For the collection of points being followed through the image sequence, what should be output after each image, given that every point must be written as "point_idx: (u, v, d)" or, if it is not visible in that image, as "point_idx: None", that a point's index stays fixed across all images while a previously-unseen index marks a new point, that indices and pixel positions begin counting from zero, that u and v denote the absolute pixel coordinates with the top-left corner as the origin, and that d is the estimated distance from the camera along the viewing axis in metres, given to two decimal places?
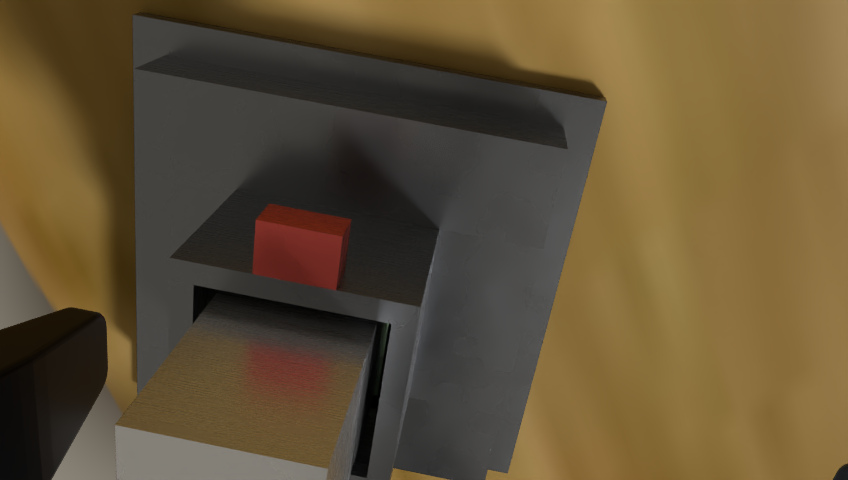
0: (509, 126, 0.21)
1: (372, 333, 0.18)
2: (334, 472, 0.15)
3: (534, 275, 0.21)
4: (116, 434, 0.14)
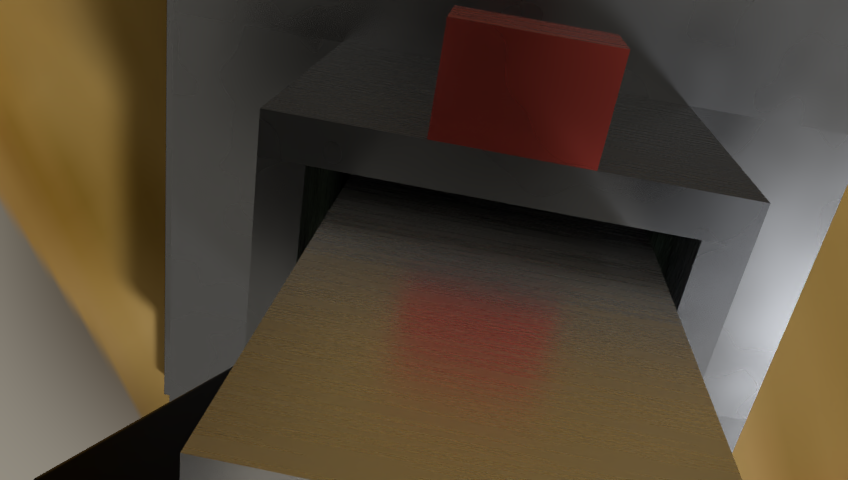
0: None
1: (655, 261, 0.09)
2: None
3: (843, 185, 0.13)
4: (182, 477, 0.05)
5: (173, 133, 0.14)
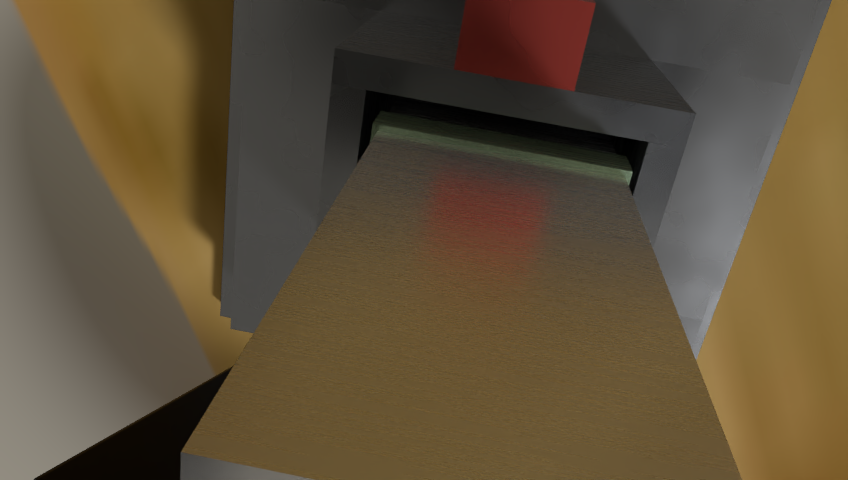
0: None
1: (655, 260, 0.09)
2: None
3: (772, 123, 0.16)
4: (183, 474, 0.05)
5: (243, 85, 0.17)
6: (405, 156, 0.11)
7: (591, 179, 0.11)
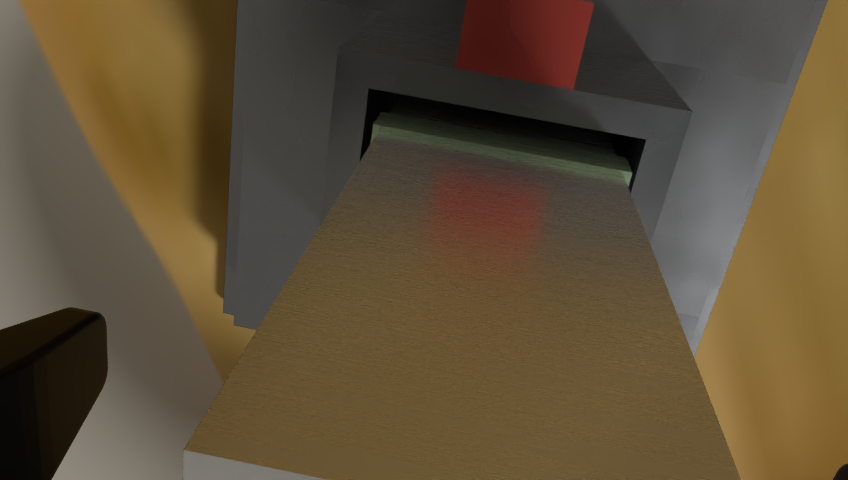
0: None
1: (654, 260, 0.09)
2: None
3: (769, 122, 0.17)
4: (186, 474, 0.05)
5: (247, 84, 0.18)
6: (405, 157, 0.11)
7: (591, 180, 0.11)
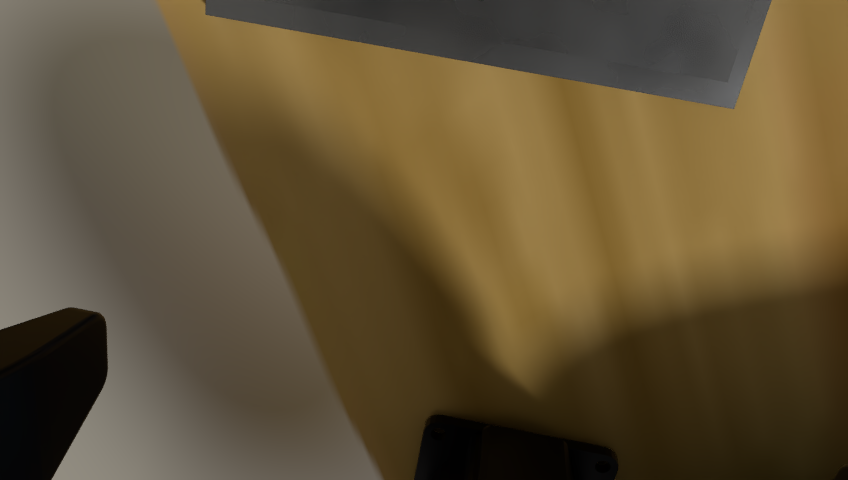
0: None
1: None
2: None
3: None
4: None
5: None
6: None
7: None
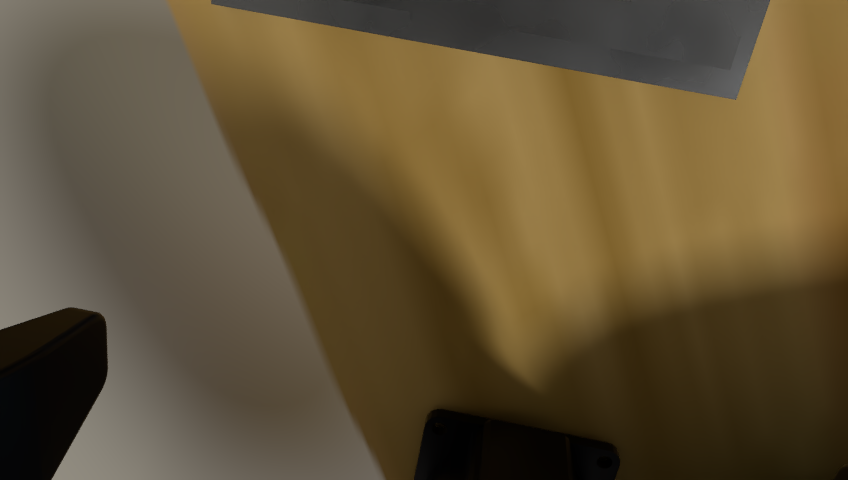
0: None
1: None
2: None
3: None
4: None
5: None
6: None
7: None
